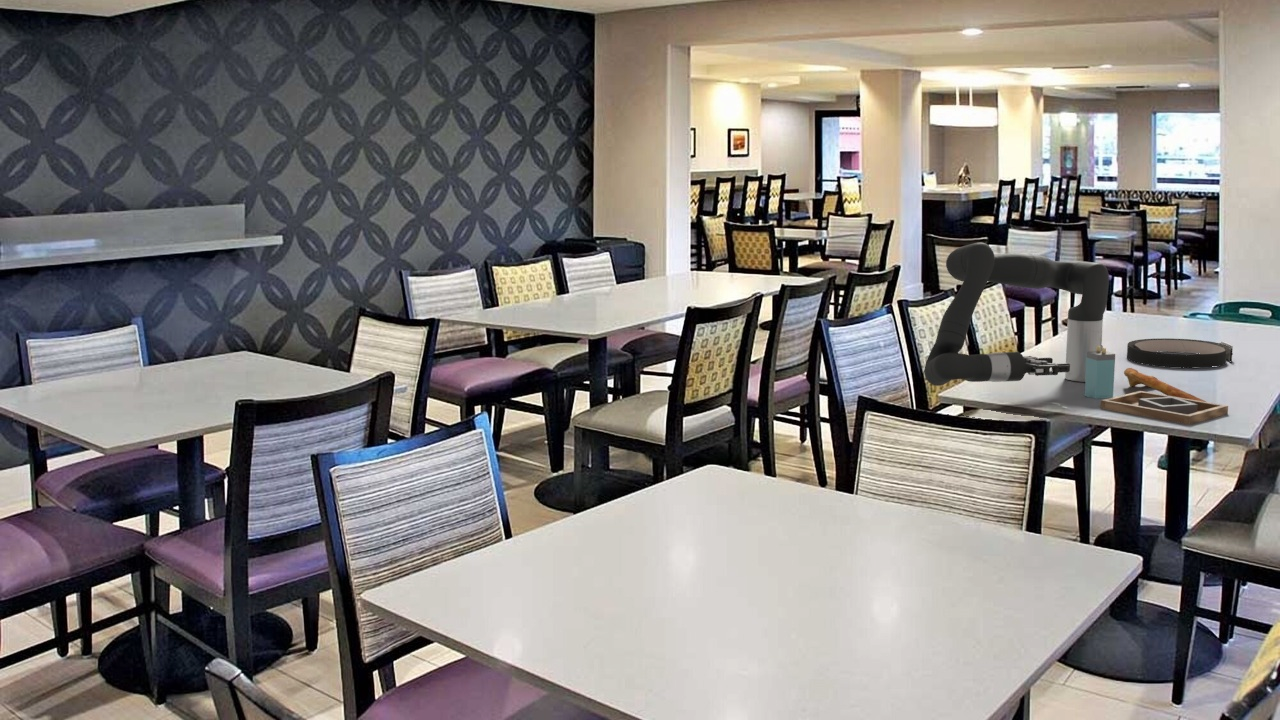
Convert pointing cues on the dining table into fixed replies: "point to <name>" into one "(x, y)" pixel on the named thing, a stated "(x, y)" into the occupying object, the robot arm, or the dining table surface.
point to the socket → (1169, 404)
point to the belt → (1208, 351)
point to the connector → (1100, 374)
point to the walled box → (1130, 405)
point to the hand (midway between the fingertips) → (1060, 364)
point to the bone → (1156, 384)
